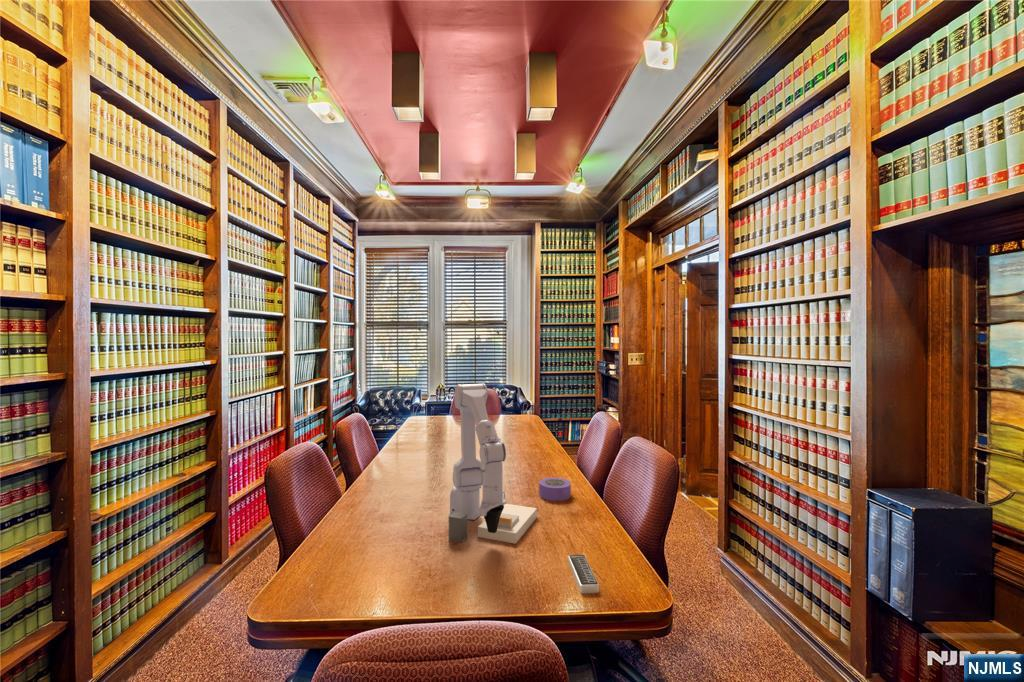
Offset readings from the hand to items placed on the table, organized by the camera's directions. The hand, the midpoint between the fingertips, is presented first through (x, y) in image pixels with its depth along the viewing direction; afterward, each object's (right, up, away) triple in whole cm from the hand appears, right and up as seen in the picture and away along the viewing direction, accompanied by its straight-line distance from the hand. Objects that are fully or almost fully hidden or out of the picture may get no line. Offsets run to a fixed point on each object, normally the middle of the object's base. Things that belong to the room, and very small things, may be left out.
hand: (492, 531), depth 128 cm
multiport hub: (+23, -5, -17) cm, 29 cm away
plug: (-10, -4, +4) cm, 12 cm away
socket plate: (+5, -4, +12) cm, 14 cm away
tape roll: (+22, -4, +40) cm, 46 cm away
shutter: (+3, 0, +8) cm, 9 cm away
